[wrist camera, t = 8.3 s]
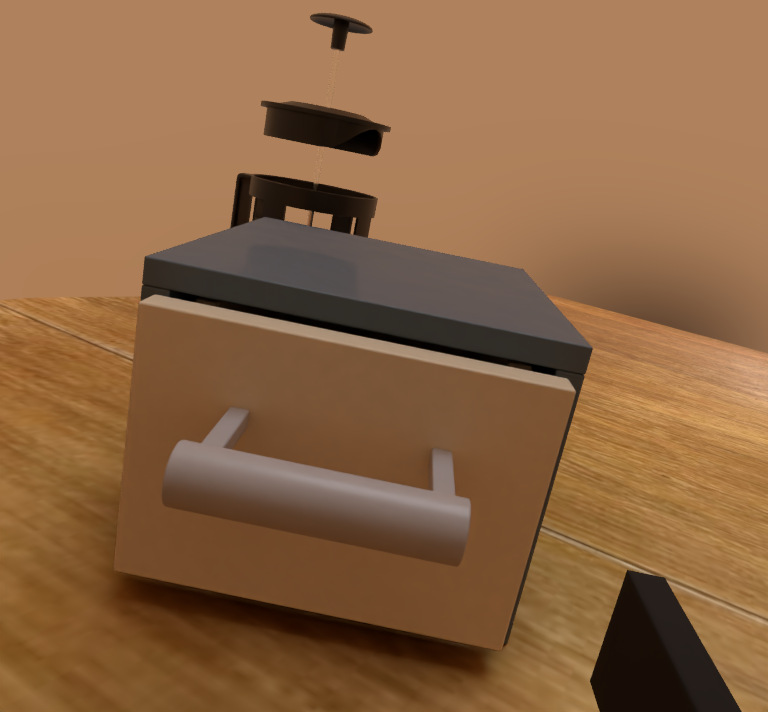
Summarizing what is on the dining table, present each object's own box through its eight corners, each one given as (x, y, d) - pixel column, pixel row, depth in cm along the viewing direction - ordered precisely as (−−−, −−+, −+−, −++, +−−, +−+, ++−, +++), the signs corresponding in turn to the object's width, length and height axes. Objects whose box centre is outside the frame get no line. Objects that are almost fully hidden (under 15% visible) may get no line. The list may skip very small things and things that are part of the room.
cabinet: (507, 644, 24) (593, 347, 21) (114, 563, 24) (144, 255, 21) (476, 456, 39) (523, 269, 36) (237, 407, 39) (264, 216, 36)
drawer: (521, 784, 17) (624, 462, 15) (27, 680, 17) (46, 344, 15) (473, 460, 36) (514, 295, 33) (235, 411, 36) (259, 243, 33)
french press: (380, 358, 54) (443, 42, 47) (312, 381, 45) (377, 4, 39) (262, 317, 59) (304, 26, 52) (181, 331, 50) (220, -11, 44)
